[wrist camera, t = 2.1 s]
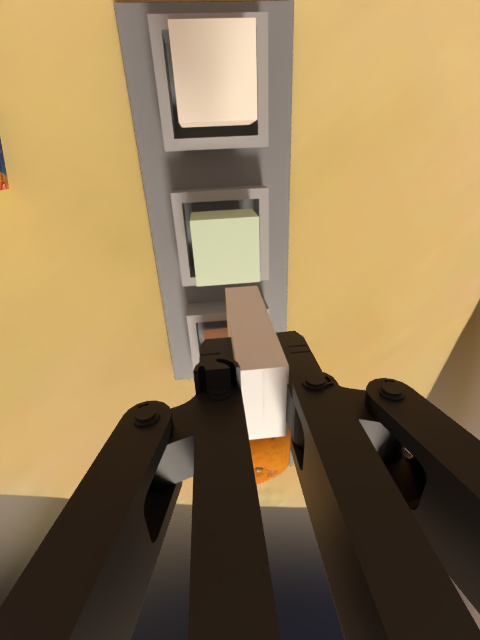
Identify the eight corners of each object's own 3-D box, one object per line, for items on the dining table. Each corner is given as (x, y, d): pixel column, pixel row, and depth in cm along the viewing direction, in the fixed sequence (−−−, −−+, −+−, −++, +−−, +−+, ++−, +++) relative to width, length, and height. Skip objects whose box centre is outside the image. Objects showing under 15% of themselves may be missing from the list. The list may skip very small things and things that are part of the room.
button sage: (197, 270, 29) (196, 286, 26) (191, 212, 27) (189, 220, 23) (253, 266, 30) (260, 281, 26) (251, 208, 27) (259, 216, 24)
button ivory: (182, 127, 24) (178, 122, 21) (173, 41, 22) (167, 19, 18) (249, 124, 25) (257, 119, 21) (247, 39, 22) (255, 17, 19)
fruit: (252, 458, 47) (262, 512, 40) (193, 427, 43) (191, 480, 36) (303, 412, 44) (323, 461, 37) (244, 374, 40) (253, 421, 33)
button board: (176, 373, 39) (173, 397, 36) (117, 9, 24) (102, -17, 21) (283, 363, 40) (291, 384, 36) (290, 6, 25) (305, -19, 22)
